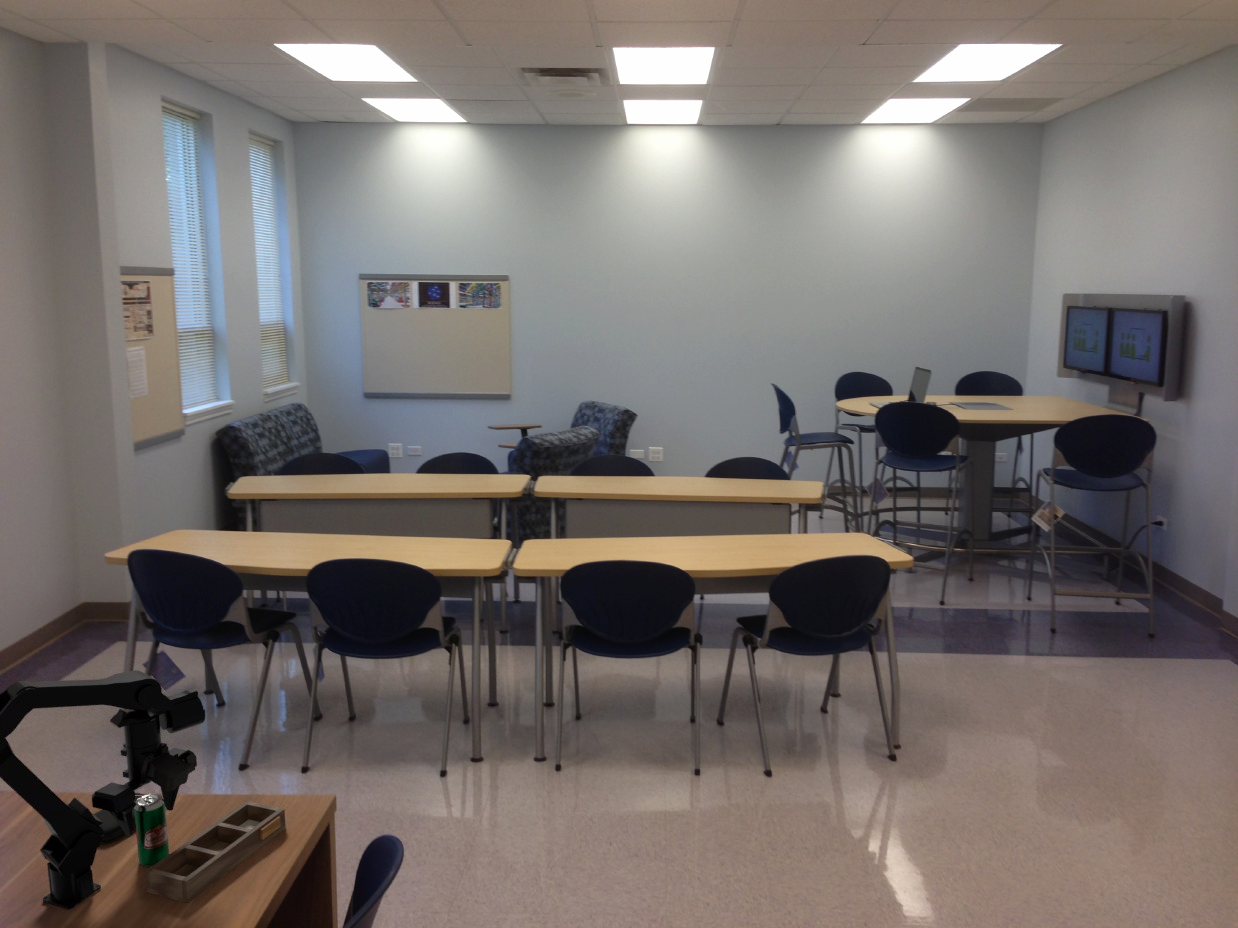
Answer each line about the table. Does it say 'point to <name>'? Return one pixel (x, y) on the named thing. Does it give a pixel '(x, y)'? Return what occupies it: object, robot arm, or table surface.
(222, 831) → the can rack
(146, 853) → the soda can
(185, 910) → the table surface
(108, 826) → the carrying case or bag
